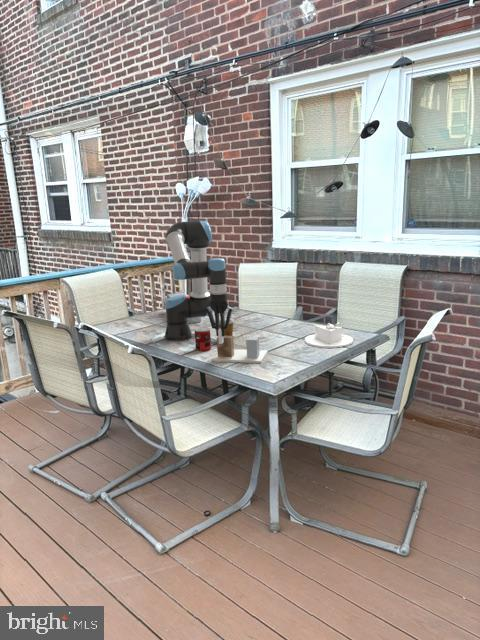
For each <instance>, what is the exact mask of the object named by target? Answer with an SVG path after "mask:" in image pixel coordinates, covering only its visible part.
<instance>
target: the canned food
mask: <svg viewBox="0 0 480 640" xmlns="http://www.w3.org/2000/svg"><path fill="white" fill-rule="evenodd" d="M211 338H212V337H211V328H210V327H207V326H199V327H195V328H194V341H195V350H196V351H197V352H208V351H211V349H212V341H211Z"/></svg>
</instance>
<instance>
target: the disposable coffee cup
mask: <svg viewBox="0 0 480 640" xmlns="http://www.w3.org/2000/svg"><path fill="white" fill-rule="evenodd" d="M226 318H227V316H225V324H226ZM219 323H220V328H219V329H221V319H220V317H219ZM234 323H235V319H234V318H233V317H232V316H231V317H230V323H229V327H228V328H227V329H225V336H234V335H233V333H234Z"/></svg>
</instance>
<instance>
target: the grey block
mask: <svg viewBox="0 0 480 640" xmlns="http://www.w3.org/2000/svg"><path fill="white" fill-rule="evenodd" d="M245 341H246V350H247V358H258V357H259V355H260V352H259V350H260V337H259V336H248V337H247V338H246V340H245Z"/></svg>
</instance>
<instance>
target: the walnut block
mask: <svg viewBox="0 0 480 640" xmlns="http://www.w3.org/2000/svg"><path fill="white" fill-rule="evenodd" d="M223 340H224V342H223V343H222V344H219V338H218V336H216V349H217V353H218V358H233V357H234V349H235V345H234V344H235V343H234V335H232V336H224V337H223Z"/></svg>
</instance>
